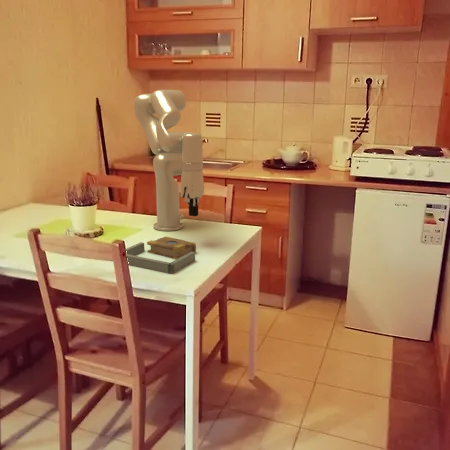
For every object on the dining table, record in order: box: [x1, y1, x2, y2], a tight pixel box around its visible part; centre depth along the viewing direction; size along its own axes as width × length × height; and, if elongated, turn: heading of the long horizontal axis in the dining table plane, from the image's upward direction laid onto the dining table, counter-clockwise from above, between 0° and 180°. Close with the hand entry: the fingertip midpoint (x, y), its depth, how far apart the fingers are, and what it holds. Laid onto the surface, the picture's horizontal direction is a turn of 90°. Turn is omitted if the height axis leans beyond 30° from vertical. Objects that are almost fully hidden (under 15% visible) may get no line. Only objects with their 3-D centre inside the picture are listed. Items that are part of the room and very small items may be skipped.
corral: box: [125, 241, 196, 275], centre depth 166 cm, size 14×23×3 cm, turn 63°
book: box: [146, 235, 197, 261], centre depth 175 cm, size 15×11×5 cm
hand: (193, 215), depth 184 cm, fingers closed
